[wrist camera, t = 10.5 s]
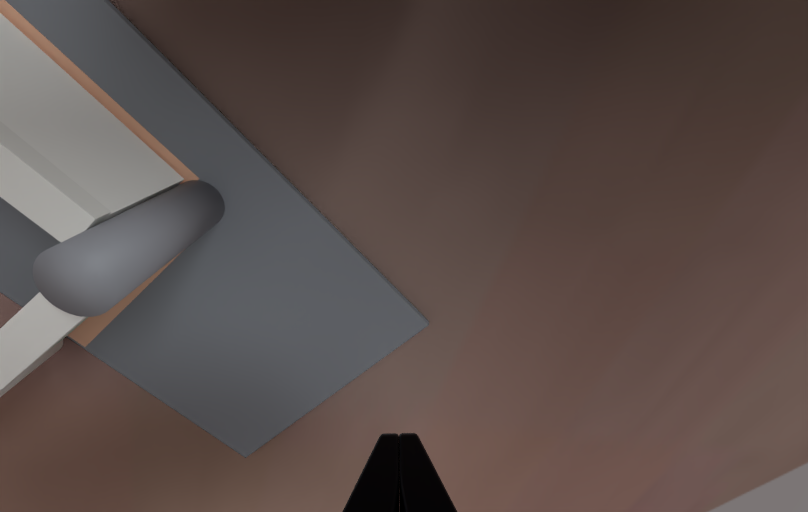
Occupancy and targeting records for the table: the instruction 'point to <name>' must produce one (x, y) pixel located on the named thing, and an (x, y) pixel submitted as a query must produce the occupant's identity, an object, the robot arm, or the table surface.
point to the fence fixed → (88, 185)
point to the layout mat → (212, 254)
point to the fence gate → (32, 339)
